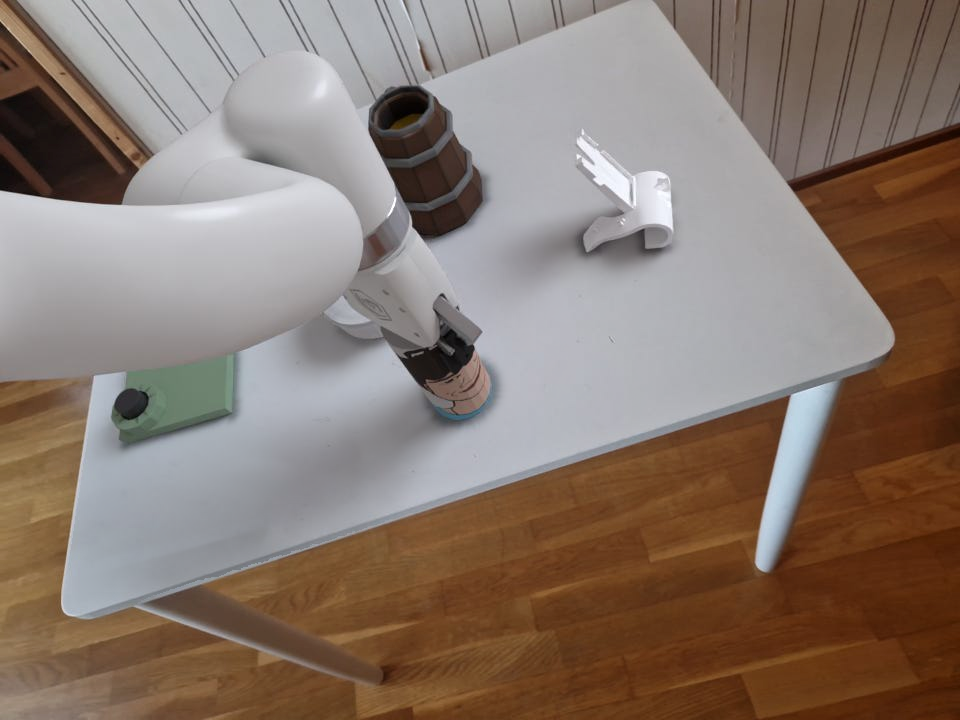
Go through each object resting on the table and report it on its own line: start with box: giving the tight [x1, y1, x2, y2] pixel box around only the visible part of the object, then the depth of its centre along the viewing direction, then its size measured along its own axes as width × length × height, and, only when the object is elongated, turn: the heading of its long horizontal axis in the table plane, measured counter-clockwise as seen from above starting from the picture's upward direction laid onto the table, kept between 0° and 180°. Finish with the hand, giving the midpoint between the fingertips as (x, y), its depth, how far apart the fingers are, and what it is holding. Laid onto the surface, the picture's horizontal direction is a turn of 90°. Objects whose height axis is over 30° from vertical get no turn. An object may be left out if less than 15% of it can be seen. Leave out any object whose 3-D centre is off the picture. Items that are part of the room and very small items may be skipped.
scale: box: [110, 353, 235, 445], centre depth 82 cm, size 14×14×3 cm
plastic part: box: [574, 128, 675, 253], centre depth 72 cm, size 8×10×12 cm
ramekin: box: [321, 295, 384, 340], centre depth 78 cm, size 11×11×5 cm
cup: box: [381, 324, 493, 421], centre depth 66 cm, size 7×7×15 cm
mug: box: [367, 84, 484, 236], centre depth 81 cm, size 16×12×15 cm
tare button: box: [113, 388, 148, 419], centre depth 78 cm, size 3×3×2 cm
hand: (432, 344), depth 63 cm, fingers closed on cup, 6 cm apart
